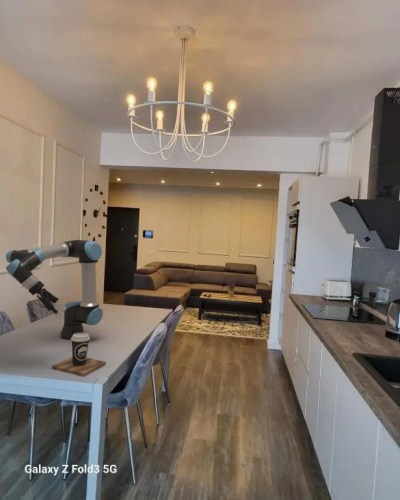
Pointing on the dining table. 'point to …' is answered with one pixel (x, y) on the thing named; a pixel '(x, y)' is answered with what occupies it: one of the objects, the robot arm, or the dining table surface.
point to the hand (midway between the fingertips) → (63, 313)
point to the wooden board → (78, 370)
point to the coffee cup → (79, 348)
